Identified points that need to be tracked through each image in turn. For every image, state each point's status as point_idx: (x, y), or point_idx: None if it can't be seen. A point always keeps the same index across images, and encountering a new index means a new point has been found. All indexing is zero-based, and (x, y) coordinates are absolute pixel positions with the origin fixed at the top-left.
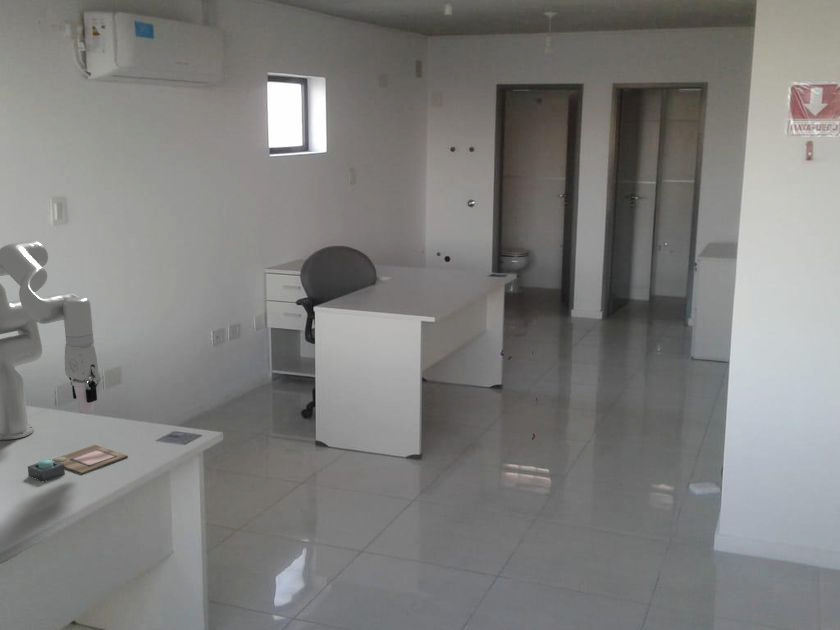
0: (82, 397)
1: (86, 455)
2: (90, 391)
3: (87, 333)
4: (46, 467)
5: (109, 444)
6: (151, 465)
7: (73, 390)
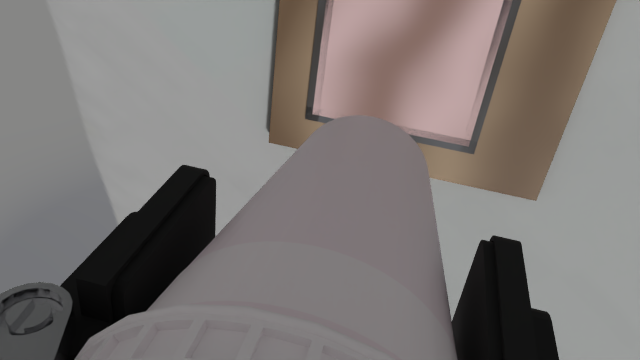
0: (257, 204)
1: (465, 61)
2: (70, 283)
3: None
4: None
5: (480, 237)
6: (111, 103)
7: (503, 324)
